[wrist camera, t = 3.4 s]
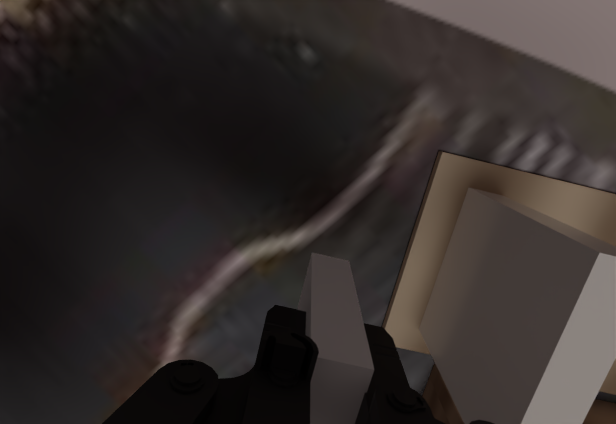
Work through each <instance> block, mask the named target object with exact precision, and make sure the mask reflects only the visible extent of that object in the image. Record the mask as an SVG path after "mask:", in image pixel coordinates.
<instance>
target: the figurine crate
mask: <svg viewBox="0 0 616 424" xmlns="http://www.w3.org/2000/svg"><path fill="white" fill-rule="evenodd" d="M422 397H423V398H424V399H425V400H426V402H427V403H428V405H429V407H430V408H431V411H432V414H433V416H434V418H435V419H437V420H439V421H441V422H443V423H445V424H464V422H463V420H462V418H461V416H460V414H459V412H458V409H457V407H456V405H455V403H454V401H453V399H452V397H451V395H450V393H449V391H448V389H447V387H446V385H445V383H444V380H443V378H442V376H441V374H440V372H439V370H438V368H437V366H436V364H434V366H433V369H432V371H431V374H430V377H429V379H428V382H427V385H426V387H425V390H424V393H423V395H422ZM582 424H616V403H612V402H607V401H603V400H598V399H595V400H594V402H593V404H592V406H591V407H590V409H589V411H588V413H587V415H586V417H585V419H584V421H583V423H582Z"/></svg>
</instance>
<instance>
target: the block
mask: <svg viewBox="0 0 616 424" xmlns="http://www.w3.org/2000/svg"><path fill="white" fill-rule="evenodd" d="M419 331H420V333H421V335H422V337H423V339H424V341H425V343H426V345H427V347H428V349H429V352H430V354H431V356H432V358H433V360H434V362H435V364H436V366H437V368H438V370H439V372H440V374H441V376H442V378H443V380H444V383H445V385H446V387H447V389H448V391H449V393H450V395H451V397H452V399H453V401H454V403H455V405H456V407H457V409H458V412H459V414H460V416H461V418H462V420H463V422H464V424H470V422H471V421H475V420H484V421H489V422H492V423H494V424H582V423H583V421H584V419H585V417H586V415H587V413H588V411H589V409H590V407H591V406H592V404H593V402H594V400H595V398H596V396H597V394H598V392H599V390H600V388H601V386H602V384H603V382H604V380H605V378H606V376H607V374H608V372H609V370H610V368H611V366H612V364H613V362H614V360H615V359H616V246H613V245H611V244H609V243H607V242H605V241H602V240H600V239H598V238H596V237H594V236H591V235H589V234H587V233H585V232H583V231H580V230H578V229H576V228H574V227H571V226H569V225H567V224H565V223H563V222H560V221H558V220H556V219H554V218H552V217H549V216H547V215H545V214H543V213H540V212H538V211H536V210H534V209H532V208H529V207H527V206H525V205H523V204H521V203H518V202H516V201H514V200H512V199H510V198H507V197H505V196H502V195H498V194H494V193H490V192H486V191H482V190H478V189H473V188H468V191H467V193H466V196H465V199H464V202H463V205H462V208H461V211H460V213H459V216H458V219H457V222H456V225H455V228H454V230H453V233H452V236H451V239H450V242H449V245H448V248H447V250H446V253H445V256H444V259H443V262H442V265H441V267H440V270H439V273H438V276H437V279H436V282H435V285H434V287H433V290H432V293H431V296H430V299H429V302H428V305H427V307H426V310H425V313H424V316H423V319H422V322H421V324H420V327H419Z"/></svg>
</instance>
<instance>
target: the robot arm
mask: <svg viewBox="0 0 616 424" xmlns="http://www.w3.org/2000/svg"><path fill="white" fill-rule="evenodd" d="M102 424H445V423H443V422H441V421H439V420H437V419H435V418H434V416H433V414H432V411H431V408H430V407H429V405H428V403H427V402H426V400H425V399H424V398H423V397H422V396H421V395H420V394H419V393H418V392H417V391H415V390H413V389H412V388H410V387H409V384H408V381H407V378H406V375H405V372H404V369H403V366H402V363H401V361H400V360H399V355H398V352H397V351H396V346H395V343H394V340H393V338H392V337H391V336H390V335H389V333H388V332H387V331H386V330H385V329H384V328H383V327H378V326H374V325H369V324H365V323H363V319H362V315H361V310H360V306H359V302H358V297H357V293H356V289H355V284H354V280H353V276H352V272H351V267H350V263H349V261H347V260H343V259H338V258H334V257H330V256H325V255H321V254H316V253H312V254H311V258H310V262H309V266H308V269H307V273H306V277H305V281H304V285H303V289H302V293H301V297H300V301H299V305H298V308H297V310H296V309H292V308H287V307H283V306H278V305H275V306H274V307H273V308H271V309H270V310H269V311H268V312H267V315H266V320H265V324H264V328H263V333H262V337H261V341H260V345H259V350H258V354H257V358H256V362H255V365H254V367H253V368H252V369H251V370H250V371H249V372H247V373H246V374H244V375H241V376H238V377H234V378H225V379H218V375H217V374H216V372H215V371H214V370H213V368H212V367H210V366H208V365H206V364H205V363H203V362H199V361H195V360H178V361H174V362H171V363H168V364H166V365H165V366H163V367H162V368H160V369H159V370H158V371H157V372H156V373H155V374H154V375H153V376H152V377H151V378H149V379H148V380H147V381H146V382H145V383H144V384H143V385H142V386H141V387H140V388H139V389H138V390H137V391H136V392H135V393H134V394H133V395H132V396H131V397H130V398H129V399H127V400H126V401H125V402H124V403H123V404H122V405H121V406H120V407H119V408H118V409H117V410H116V411H115V412H114V413H113V414H112V415H111V416H110V417H109V418H108V419H107V420H105V421H104V422H103V423H102ZM470 424H494V423H492V422H489V421H484V420H475V421H471V422H470Z"/></svg>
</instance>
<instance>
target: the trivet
mask: <svg viewBox="0 0 616 424" xmlns="http://www.w3.org/2000/svg"><path fill="white" fill-rule="evenodd" d="M468 188H473V189H478V190H482V191H486V192H490V193H494V194H498V195H502V196H505V197H507V198H510V199H512V200H514V201H516V202H518V203H521V204H523V205H525V206H527V207H529V208H532V209H534V210H536V211H538V212H540V213H543V214H545V215H547V216H549V217H552V218H554V219H556V220H558V221H560V222H563V223H565V224H567V225H569V226H571V227H574V228H576V229H578V230H580V231H583V232H585V233H587V234H589V235H591V236H594V237H596V238H598V239H600V240H602V241H605V242H607V243H609V244H611V245H613V246H616V194H613V193H609V192H605V191H601V190H597V189H593V188H589V187H585V186H581V185H577V184H572V183H568V182H564V181H560V180H556V179H552V178H548V177H544V176H540V175H536V174H532V173H528V172H523V171H519V170H515V169H511V168H507V167H503V166H499V165H495V164H491V163H487V162H483V161H478V160H474V159H470V158H466V157H462V156H458V155H454V154H450V153H446V152H442V151H439V152H438V155H437V158H436V161H435V164H434V168H433V171H432V174H431V177H430V180H429V183H428V186H427V189H426V192H425V195H424V199H423V202H422V205H421V208H420V211H419V214H418V217H417V220H416V223H415V226H414V229H413V233H412V236H411V239H410V242H409V245H408V248H407V251H406V254H405V257H404V260H403V264H402V267H401V270H400V273H399V276H398V279H397V282H396V285H395V288H394V291H393V295H392V298H391V301H390V304H389V307H388V310H387V313H386V316H385V319H384V322H383V325H382V327H383V328H384V329H385V330H386V331H387V332H388V333H389V335H390V336H391V337H392V338H393V340H394V343H395V346H396V347H398V348H403V349H407V350H412V351H417V352H421V353H426V354H430V352H429V349H428V347H427V345H426V343H425V341H424V339H423V337H422V335H421V333H420V331H419V327H420V324H421V322H422V319H423V316H424V313H425V310H426V307H427V305H428V302H429V299H430V296H431V293H432V290H433V287H434V285H435V282H436V279H437V276H438V273H439V270H440V267H441V265H442V262H443V259H444V256H445V253H446V250H447V248H448V245H449V242H450V239H451V236H452V233H453V230H454V228H455V225H456V222H457V219H458V216H459V213H460V211H461V208H462V205H463V202H464V199H465V196H466V193H467V191H468ZM430 355H431V354H430ZM599 391H600V392H605V393H610V394H614V395H616V359H615V360H614V362H613V364H612V366H611V368H610V370H609V372H608V374H607V376H606V378H605V380H604V382H603V384H602V386H601V388H600V390H599Z"/></svg>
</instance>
